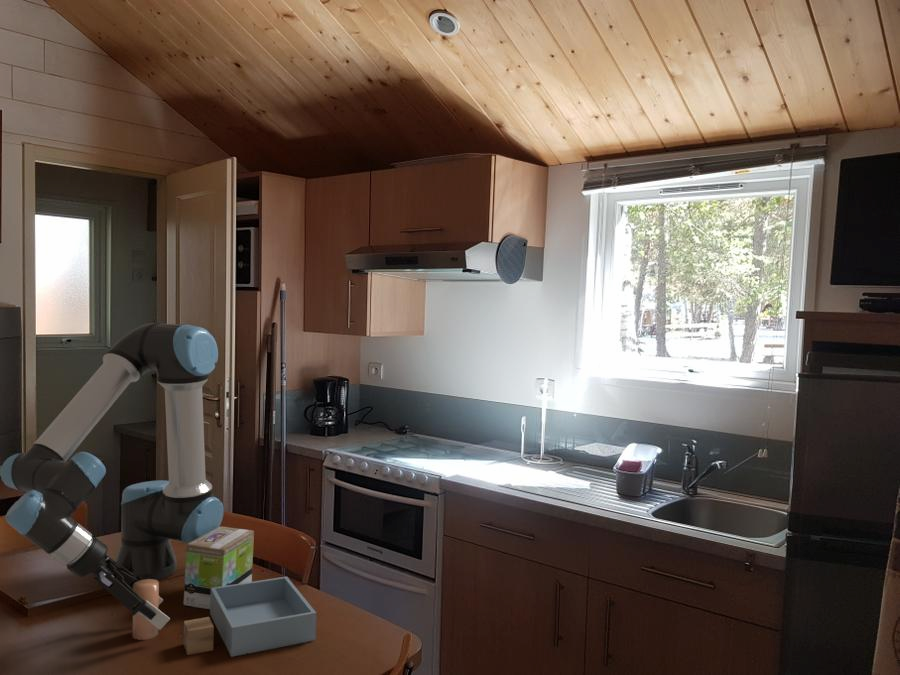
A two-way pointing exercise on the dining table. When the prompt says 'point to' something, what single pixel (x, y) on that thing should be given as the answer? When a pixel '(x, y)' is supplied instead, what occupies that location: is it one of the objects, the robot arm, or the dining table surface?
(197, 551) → the tea box
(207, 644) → the block
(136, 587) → the peach orange cylinder
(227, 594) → the tote
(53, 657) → the dining table surface
